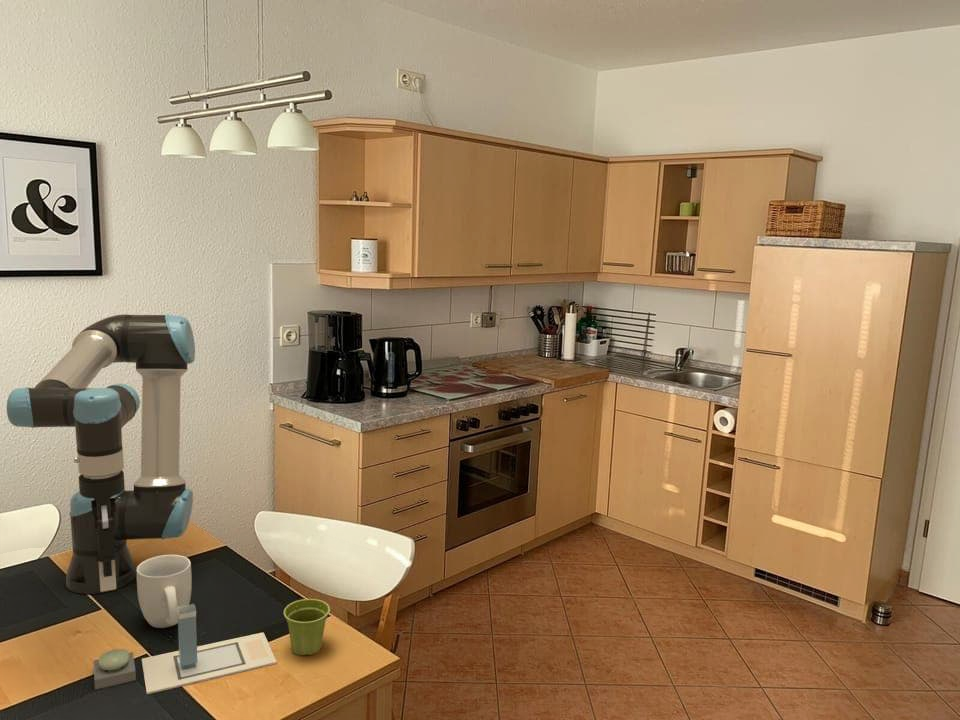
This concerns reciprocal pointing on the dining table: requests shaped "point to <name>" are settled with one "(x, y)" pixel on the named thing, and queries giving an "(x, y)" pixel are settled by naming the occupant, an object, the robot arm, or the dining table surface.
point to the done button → (113, 659)
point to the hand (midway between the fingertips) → (108, 588)
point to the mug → (163, 588)
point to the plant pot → (306, 625)
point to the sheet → (208, 663)
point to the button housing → (114, 674)
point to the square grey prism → (187, 636)
